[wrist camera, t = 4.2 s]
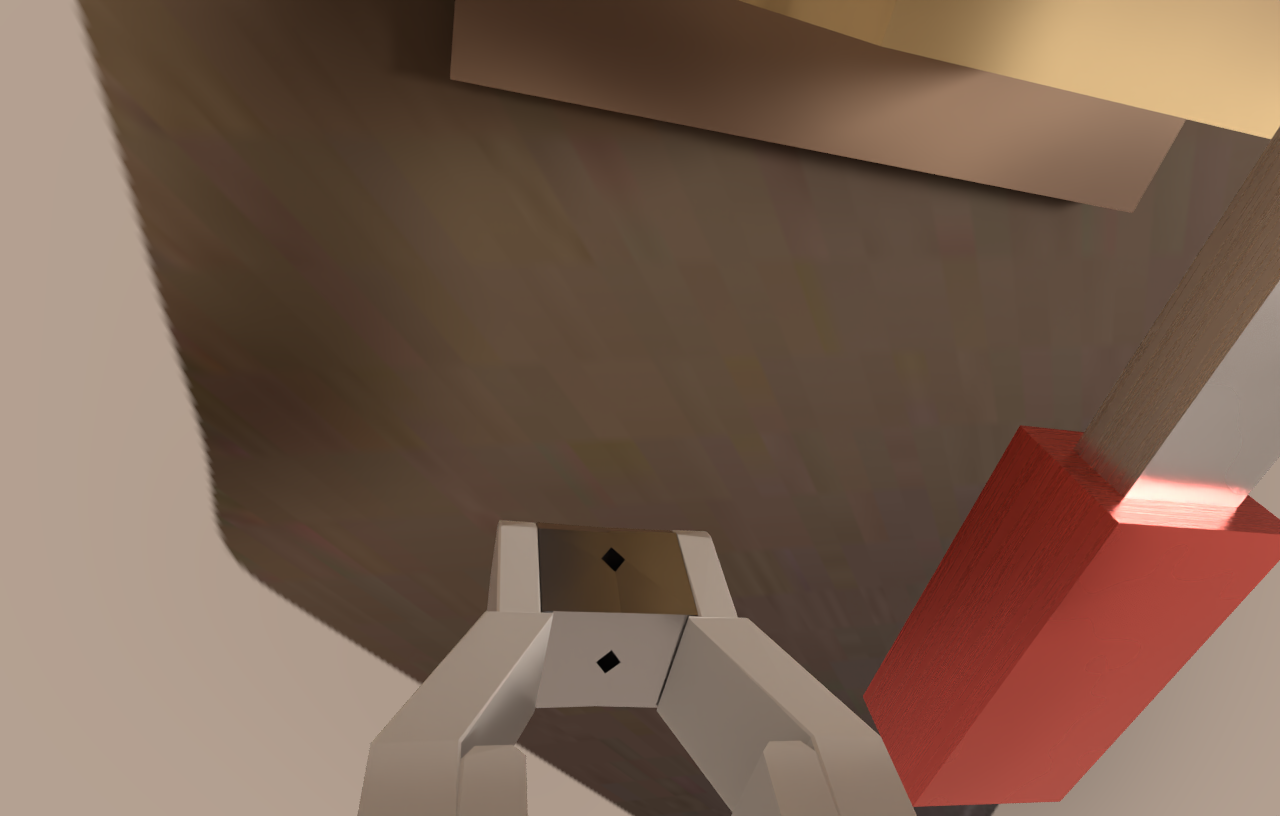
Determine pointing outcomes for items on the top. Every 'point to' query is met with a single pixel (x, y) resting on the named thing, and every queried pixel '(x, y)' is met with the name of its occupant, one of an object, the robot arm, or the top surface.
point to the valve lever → (1102, 545)
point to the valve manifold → (906, 77)
